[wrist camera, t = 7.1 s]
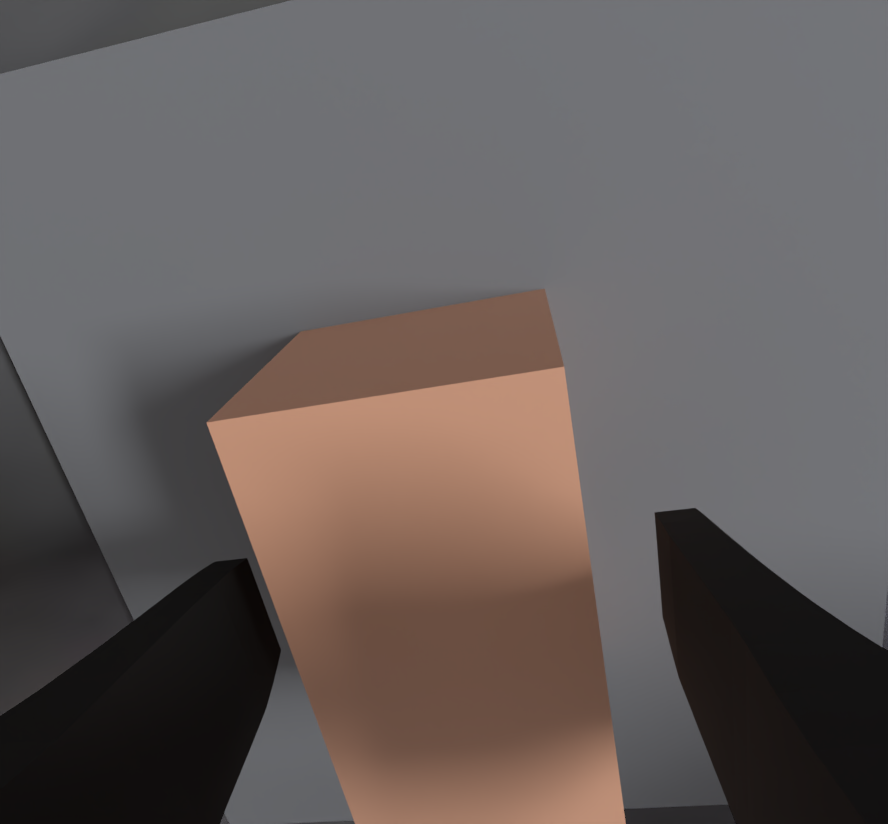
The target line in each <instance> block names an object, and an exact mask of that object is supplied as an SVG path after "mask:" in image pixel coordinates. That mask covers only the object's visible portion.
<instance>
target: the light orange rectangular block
mask: <svg viewBox="0 0 888 824" xmlns="http://www.w3.org/2000/svg"><path fill="white" fill-rule="evenodd" d="M206 423H207V426H208V428H209V431H210V434H211V436H212V439H213V442H214V445H215V447H216V450H217V453H218V455H219V458H220V461H221V463H222V466H223V469H224V471H225V474H226V477H227V480H228V482H229V485H230V488H231V490H232V493H233V496H234V498H235V501H236V504H237V507H238V509H239V512H240V515H241V517H242V520H243V523H244V525H245V528H246V531H247V534H248V536H249V539H250V542H251V544H252V547H253V550H254V552H255V555H256V558H257V561H258V563H259V566H260V569H261V571H262V574H263V577H264V579H265V582H266V585H267V587H268V590H269V593H270V596H271V598H272V601H273V604H274V606H275V609H276V612H277V614H278V617H279V620H280V623H281V625H282V628H283V631H284V633H285V636H286V639H287V641H288V644H289V647H290V650H291V652H292V655H293V658H294V660H295V663H296V666H297V668H298V671H299V674H300V676H301V679H302V682H303V685H304V687H305V690H306V693H307V695H308V698H309V701H310V703H311V706H312V709H313V712H314V714H315V717H316V720H317V722H318V725H319V728H320V730H321V733H322V736H323V739H324V741H325V744H326V747H327V749H328V752H329V755H330V757H331V760H332V763H333V766H334V768H335V771H336V774H337V776H338V779H339V782H340V784H341V787H342V790H343V792H344V795H345V798H346V801H347V803H348V806H349V809H350V811H351V814H352V817H353V819H354V822H355V824H626V821H625V814H624V806H623V799H622V792H621V784H620V777H619V769H618V762H617V754H616V747H615V740H614V732H613V725H612V717H611V710H610V703H609V695H608V688H607V680H606V673H605V665H604V658H603V651H602V643H601V636H600V628H599V621H598V613H597V606H596V599H595V591H594V584H593V576H592V569H591V562H590V554H589V547H588V539H587V532H586V524H585V517H584V510H583V502H582V495H581V487H580V480H579V472H578V465H577V458H576V450H575V443H574V435H573V428H572V421H571V413H570V406H569V398H568V391H567V383H566V376H565V369H564V364H563V360H562V356H561V352H560V348H559V344H558V340H557V336H556V332H555V328H554V324H553V320H552V316H551V312H550V308H549V304H548V300H547V296H546V292H545V289H540V290H534V291H528V292H523V293H517V294H511V295H506V296H500V297H494V298H488V299H483V300H477V301H471V302H466V303H460V304H454V305H449V306H443V307H437V308H432V309H426V310H420V311H415V312H409V313H403V314H398V315H392V316H386V317H380V318H375V319H369V320H363V321H358V322H352V323H346V324H341V325H335V326H329V327H324V328H318V329H312V330H307V331H301V332H300V333H299V334H298V335H297V336H296V337H295V338H293V339H292V340H291V341H290V342H289V343H288V344H287V345H286V346H285V347H284V348H283V349H282V350H281V351H280V352H279V353H278V354H277V355H276V356H275V357H274V358H273V359H272V360H271V361H270V362H269V363H268V364H267V365H265V366H264V367H263V368H262V369H261V370H260V371H259V372H258V373H257V374H256V375H255V376H254V377H253V378H252V379H251V380H250V381H249V382H248V383H247V384H246V385H245V386H244V387H243V388H242V389H241V390H240V391H239V392H237V393H236V394H235V395H234V396H233V397H232V398H231V399H230V400H229V401H228V402H227V403H226V404H225V405H224V406H223V407H222V408H221V409H220V410H219V411H218V412H217V413H216V414H215V415H214V416H213V417H212V418H211V419H209V420H208V421H207V422H206Z"/></svg>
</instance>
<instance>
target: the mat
mask: <svg viewBox="0 0 888 824" xmlns="http://www.w3.org/2000/svg"><path fill="white" fill-rule="evenodd" d="M540 289H545V292H546V296H547V300H548V304H549V308H550V312H551V316H552V320H553V324H554V328H555V332H556V336H557V340H558V344H559V348H560V352H561V356H562V360H563V364H564V369H565V376H566V383H567V391H568V398H569V406H570V413H571V421H572V428H573V435H574V443H575V450H576V458H577V465H578V472H579V480H580V487H581V495H582V502H583V510H584V517H585V524H586V532H587V539H588V547H589V554H590V562H591V569H592V576H593V584H594V591H595V599H596V606H597V613H598V621H599V628H600V636H601V643H602V651H603V658H604V665H605V673H606V680H607V688H608V695H609V703H610V710H611V717H612V725H613V732H614V740H615V747H616V754H617V762H618V769H619V777H620V784H621V792H622V799H623V806H624V809H636V808H659V807H683V806H706V805H728V802H727V800H726V797H725V795H724V792H723V790H722V787H721V784H720V782H719V779H718V777H717V774H716V772H715V769H714V767H713V764H712V762H711V759H710V757H709V754H708V751H707V749H706V746H705V744H704V741H703V739H702V736H701V734H700V731H699V729H698V726H697V724H696V721H695V718H694V716H693V713H692V711H691V708H690V706H689V703H688V700H687V698H686V695H685V693H684V690H683V687H682V685H681V682H680V680H679V677H678V673H677V670H676V666H675V662H674V658H673V655H672V651H671V647H670V644H669V640H668V636H667V632H666V628H665V624H664V620H663V616H662V603H661V590H660V577H659V564H658V551H657V538H656V525H655V512H662V511H671V510H680V509H689V508H696V509H698V510H699V511H700V512H702V513H703V514H704V515H705V516H706V517H708V518H709V519H710V520H711V521H712V522H713V523H715V524H716V525H717V526H718V527H719V528H720V529H722V530H723V531H724V532H725V533H726V534H728V535H729V536H730V537H731V538H732V539H733V540H735V541H736V542H737V543H738V544H739V545H741V546H742V547H743V548H744V549H745V550H747V551H748V552H749V553H750V554H751V555H753V556H754V557H755V558H756V559H758V560H759V561H760V562H761V563H763V564H764V565H765V566H766V567H768V568H769V569H770V570H772V571H773V572H774V573H776V574H777V575H778V576H779V577H781V578H782V579H783V580H785V581H786V582H787V583H789V584H790V585H791V586H792V587H794V588H795V589H796V590H798V591H799V592H800V593H802V594H803V595H804V596H806V597H807V598H809V599H810V600H811V601H813V602H814V603H816V604H817V605H818V606H820V607H821V608H823V609H824V610H826V611H827V612H829V613H830V614H832V615H833V616H835V617H836V618H838V619H839V620H841V621H842V622H843V623H845V624H846V625H848V626H849V627H851V628H852V629H854V630H855V631H857V632H859V633H860V634H862V635H863V636H865V637H867V638H868V639H870V640H871V641H873V642H875V643H876V644H878V645H879V646H881V647H882V646H883V635H884V623H885V612H886V600H887V589H888V0H291V1H287V2H283V3H279V4H275V5H271V6H267V7H263V8H259V9H255V10H251V11H247V12H243V13H239V14H235V15H231V16H227V17H223V18H219V19H216V20H212V21H208V22H204V23H200V24H196V25H192V26H188V27H184V28H180V29H176V30H172V31H168V32H164V33H160V34H156V35H152V36H148V37H144V38H140V39H136V40H133V41H129V42H125V43H121V44H117V45H113V46H109V47H105V48H101V49H97V50H93V51H89V52H85V53H81V54H77V55H73V56H69V57H65V58H61V59H57V60H53V61H50V62H46V63H42V64H38V65H34V66H30V67H26V68H22V69H18V70H14V71H10V72H6V73H2V74H0V336H1V339H2V341H3V343H4V345H5V347H6V349H7V351H8V353H9V356H10V358H11V360H12V362H13V364H14V366H15V368H16V371H17V373H18V375H19V377H20V379H21V381H22V383H23V385H24V388H25V390H26V392H27V394H28V396H29V398H30V400H31V402H32V405H33V407H34V409H35V411H36V413H37V415H38V417H39V419H40V422H41V424H42V426H43V428H44V430H45V432H46V434H47V437H48V439H49V441H50V443H51V445H52V447H53V449H54V451H55V454H56V456H57V458H58V460H59V462H60V464H61V466H62V468H63V471H64V473H65V475H66V477H67V479H68V481H69V483H70V485H71V488H72V490H73V492H74V494H75V496H76V498H77V500H78V502H79V505H80V507H81V509H82V511H83V513H84V515H85V517H86V520H87V522H88V524H89V526H90V528H91V530H92V532H93V534H94V537H95V539H96V541H97V543H98V545H99V547H100V549H101V551H102V554H103V556H104V558H105V560H106V562H107V564H108V566H109V568H110V571H111V573H112V575H113V577H114V579H115V581H116V583H117V585H118V588H119V590H120V592H121V594H122V596H123V598H124V600H125V603H126V605H127V607H128V609H129V611H130V613H131V615H132V617H133V620H135V619H137V618H138V617H139V616H141V615H142V614H143V613H144V612H146V611H147V610H148V609H150V608H151V607H152V606H154V605H155V604H156V603H157V602H159V601H160V600H161V599H163V598H164V597H165V596H167V595H168V594H169V593H171V592H172V591H173V590H174V589H176V588H177V587H178V586H180V585H181V584H182V583H184V582H185V581H187V580H188V579H189V578H191V577H192V576H193V575H195V574H196V573H198V572H199V571H201V570H202V569H204V568H205V567H207V566H208V565H210V564H212V563H213V562H216V561H225V560H234V559H243V558H247V559H248V561H249V564H250V567H251V570H252V572H253V575H254V578H255V580H256V583H257V586H258V589H259V591H260V594H261V597H262V599H263V602H264V605H265V608H266V610H267V613H268V616H269V618H270V621H271V624H272V627H273V629H274V632H275V635H276V637H277V640H278V643H279V646H280V648H281V653H280V658H279V662H278V666H277V670H276V674H275V679H274V683H273V686H272V690H271V693H270V697H269V700H268V704H267V708H266V710H265V713H264V715H263V718H262V721H261V723H260V726H259V728H258V731H257V733H256V736H255V738H254V741H253V743H252V746H251V748H250V751H249V753H248V756H247V758H246V761H245V763H244V765H243V768H242V770H241V773H240V775H239V778H238V780H237V782H236V785H235V787H234V790H233V792H232V795H231V797H230V799H229V802H228V804H227V807H226V809H225V812H224V813H225V815H226V817H227V820H228V822H229V824H287V823H310V822H333V821H354V819H353V817H352V814H351V811H350V809H349V806H348V803H347V801H346V798H345V795H344V792H343V790H342V787H341V784H340V782H339V779H338V776H337V774H336V771H335V768H334V766H333V763H332V760H331V757H330V755H329V752H328V749H327V747H326V744H325V741H324V739H323V736H322V733H321V730H320V728H319V725H318V722H317V720H316V717H315V714H314V712H313V709H312V706H311V703H310V701H309V698H308V695H307V693H306V690H305V687H304V685H303V682H302V679H301V676H300V674H299V671H298V668H297V666H296V663H295V660H294V658H293V655H292V652H291V650H290V647H289V644H288V641H287V639H286V636H285V633H284V631H283V628H282V625H281V623H280V620H279V617H278V614H277V612H276V609H275V606H274V604H273V601H272V598H271V596H270V593H269V590H268V587H267V585H266V582H265V579H264V577H263V574H262V571H261V569H260V566H259V563H258V561H257V558H256V555H255V552H254V550H253V547H252V544H251V542H250V539H249V536H248V534H247V531H246V528H245V525H244V523H243V520H242V517H241V515H240V512H239V509H238V507H237V504H236V501H235V498H234V496H233V493H232V490H231V488H230V485H229V482H228V480H227V477H226V474H225V471H224V469H223V466H222V463H221V461H220V458H219V455H218V453H217V450H216V447H215V445H214V442H213V439H212V436H211V434H210V431H209V428H208V426H207V423H206V422H207V421H208V420H209V419H211V418H212V417H213V416H214V415H215V414H216V413H217V412H218V411H219V410H220V409H221V408H222V407H223V406H224V405H225V404H226V403H227V402H228V401H229V400H230V399H231V398H232V397H233V396H234V395H235V394H236V393H237V392H239V391H240V390H241V389H242V388H243V387H244V386H245V385H246V384H247V383H248V382H249V381H250V380H251V379H252V378H253V377H254V376H255V375H256V374H257V373H258V372H259V371H260V370H261V369H262V368H263V367H264V366H265V365H267V364H268V363H269V362H270V361H271V360H272V359H273V358H274V357H275V356H276V355H277V354H278V353H279V352H280V351H281V350H282V349H283V348H284V347H285V346H286V345H287V344H288V343H289V342H290V341H291V340H292V339H293V338H295V337H296V336H297V335H298V334H299V333H300V332H301V331H307V330H312V329H318V328H324V327H329V326H335V325H341V324H346V323H352V322H358V321H363V320H369V319H375V318H380V317H386V316H392V315H398V314H403V313H409V312H415V311H420V310H426V309H432V308H437V307H443V306H449V305H454V304H460V303H466V302H471V301H477V300H483V299H488V298H494V297H500V296H506V295H511V294H517V293H523V292H528V291H534V290H540Z"/></svg>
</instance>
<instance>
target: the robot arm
mask: <svg viewBox="0 0 888 824" xmlns="http://www.w3.org/2000/svg"><path fill="white" fill-rule="evenodd" d="M655 525H656V538H657V551H658V564H659V577H660V590H661V603H662V616H663V620H664V624H665V628H666V632H667V636H668V640H669V644H670V647H671V651H672V655H673V658H674V662H675V666H676V670H677V673H678V677H679V680H680V682H681V685H682V687H683V690H684V693H685V695H686V698H687V700H688V703H689V706H690V708H691V711H692V713H693V716H694V718H695V721H696V724H697V726H698V729H699V731H700V734H701V736H702V739H703V741H704V744H705V746H706V749H707V751H708V754H709V757H710V759H711V762H712V764H713V767H714V769H715V772H716V774H717V777H718V779H719V782H720V784H721V787H722V790H723V792H724V795H725V797H726V800H727V802H728V805H729V807H730V810H731V812H732V815H733V817H734V820H735V823H736V824H888V650H886V649H885V648H883V647H881V646H879V645H878V644H876V643H875V642H873V641H871V640H870V639H868V638H867V637H865V636H863V635H862V634H860V633H859V632H857V631H855V630H854V629H852V628H851V627H849V626H848V625H846V624H845V623H843V622H842V621H841V620H839V619H838V618H836V617H835V616H833V615H832V614H830V613H829V612H827V611H826V610H824V609H823V608H821V607H820V606H818V605H817V604H816V603H814V602H813V601H811V600H810V599H809V598H807V597H806V596H804V595H803V594H802V593H800V592H799V591H798V590H796V589H795V588H794V587H792V586H791V585H790V584H789V583H787V582H786V581H785V580H783V579H782V578H781V577H779V576H778V575H777V574H776V573H774V572H773V571H772V570H770V569H769V568H768V567H766V566H765V565H764V564H763V563H761V562H760V561H759V560H758V559H756V558H755V557H754V556H753V555H751V554H750V553H749V552H748V551H747V550H745V549H744V548H743V547H742V546H741V545H739V544H738V543H737V542H736V541H735V540H733V539H732V538H731V537H730V536H729V535H728V534H726V533H725V532H724V531H723V530H722V529H720V528H719V527H718V526H717V525H716V524H715V523H713V522H712V521H711V520H710V519H709V518H708V517H706V516H705V515H704V514H703V513H702V512H700V511H699V510H698V509H696V508H689V509H680V510H671V511H662V512H655ZM280 653H281V648H280V646H279V643H278V640H277V637H276V635H275V632H274V629H273V627H272V624H271V621H270V618H269V616H268V613H267V610H266V608H265V605H264V602H263V599H262V597H261V594H260V591H259V589H258V586H257V583H256V580H255V578H254V575H253V572H252V570H251V567H250V564H249V561H248V559H247V558H243V559H234V560H225V561H216V562H213V563H212V564H210V565H208V566H207V567H205V568H204V569H202V570H201V571H199V572H198V573H196V574H195V575H193V576H192V577H191V578H189V579H188V580H187V581H185V582H184V583H182V584H181V585H180V586H178V587H177V588H176V589H174V590H173V591H172V592H171V593H169V594H168V595H167V596H165V597H164V598H163V599H161V600H160V601H159V602H157V603H156V604H155V605H154V606H152V607H151V608H150V609H148V610H147V611H146V612H144V613H143V614H142V615H141V616H139V617H138V618H137V619H135V620H134V621H133V622H131V623H130V624H129V625H127V626H126V627H125V628H124V629H122V630H121V631H120V632H118V633H117V634H116V635H114V636H113V637H112V638H111V639H109V640H108V641H107V642H105V643H104V644H103V645H101V646H100V647H98V648H97V649H96V650H94V651H93V652H92V653H90V654H89V655H87V656H86V657H85V658H83V659H82V660H80V661H79V662H78V663H76V664H75V665H74V666H72V667H71V668H69V669H68V670H67V671H65V672H64V673H62V674H61V675H60V676H58V677H57V678H56V679H54V680H53V681H51V682H50V683H49V684H47V685H46V686H45V687H43V688H42V689H40V690H39V691H37V692H36V693H34V694H33V695H31V696H30V697H28V698H27V699H25V700H24V701H22V702H21V703H19V704H18V705H16V706H15V707H13V708H12V709H10V710H9V711H7V712H6V713H4V714H3V715H1V716H0V824H220V821H221V819H222V817H223V814H224V812H225V809H226V807H227V804H228V802H229V799H230V797H231V795H232V792H233V790H234V787H235V785H236V782H237V780H238V778H239V775H240V773H241V770H242V768H243V765H244V763H245V761H246V758H247V756H248V753H249V751H250V748H251V746H252V743H253V741H254V738H255V736H256V733H257V731H258V728H259V726H260V723H261V721H262V718H263V715H264V713H265V710H266V708H267V704H268V700H269V697H270V693H271V690H272V686H273V683H274V679H275V674H276V670H277V666H278V662H279V658H280Z"/></svg>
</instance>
